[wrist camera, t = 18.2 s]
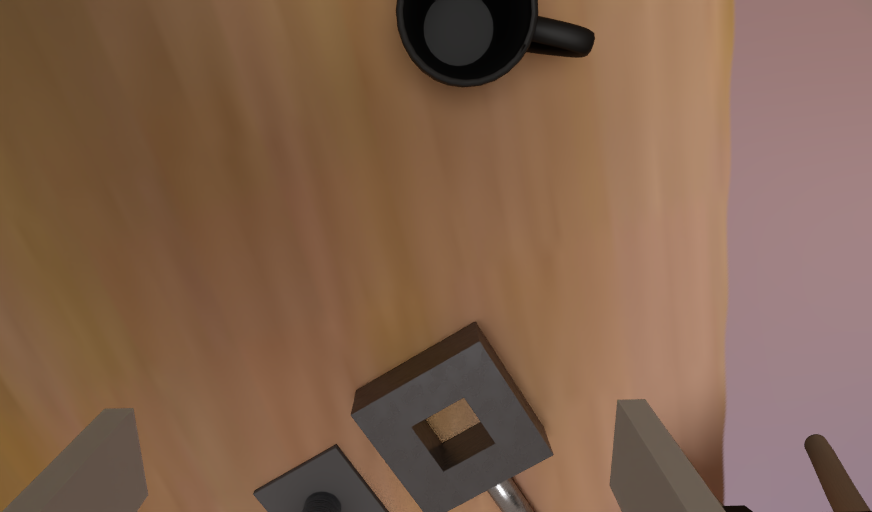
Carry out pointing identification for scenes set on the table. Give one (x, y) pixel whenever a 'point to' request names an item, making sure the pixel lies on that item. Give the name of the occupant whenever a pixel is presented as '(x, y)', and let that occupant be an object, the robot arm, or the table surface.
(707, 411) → the table surface
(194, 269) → the table surface
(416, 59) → the mug
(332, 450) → the mat
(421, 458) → the block
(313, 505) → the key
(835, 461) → the planter
